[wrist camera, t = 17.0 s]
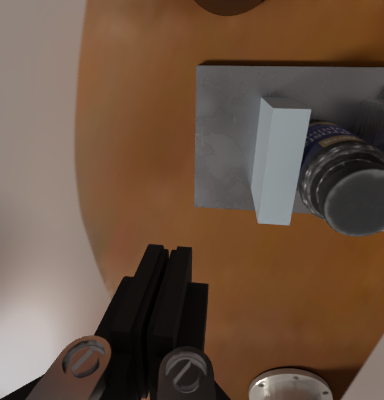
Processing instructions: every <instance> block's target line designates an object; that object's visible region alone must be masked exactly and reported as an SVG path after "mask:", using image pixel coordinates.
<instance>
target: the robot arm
mask: <svg viewBox="0 0 384 400" xmlns="http://www.w3.org/2000/svg"><path fill="white" fill-rule="evenodd" d="M191 280H192V247H180V246H178V247H177V250H172V251H171V254H170V257H169V251H168V249H164V246H163V245H155V244H149V245H148V247H147V249H146V251H145V253H144V256H143V258H142V260H141V262H140V264H139V267H138V269H137V271H136V273H135V275H134V277H128V276H125V277H124V278H123V279H122V281H121V283H120V285H119V287H118V289H117V291H116V293H115V295H114V297H113V299H112V301H111V303H110V304H109V306H108V309H107V311H106V312H105V314H104V316H103V318H102V321H101V323H100V324H99V326H98V329H97V330H96V332H95V334H94V336H93V335H92V336H84V337H82V338H79V339H76V340H75V341H73V342H72V343H70V344H69V345H68V346H67V347H66V348H65V349H64V350H63V351H62V352H61V353H60V355H59V356H58V357H57V358H56V360H55V361H54V362H53V364H52V365H51V366H50V368H49V369H48V370H47V372H46V373H45V374H44V375H42V376H41V377H39V378H37V379H35V380H33V381H32V382H30V383H28V384H26V385H25V386H23V387H21V388H19V389H17V390H16V391H14V392H12V393H10V394H9V395H7V396H5V397H3V398H1V399H0V400H141V398H147V396H148V393H150V400H231V399H230V398H229V397H228V396H227V395H226V394H225V392H224V391H223V390H222V389H221V388H220V386H219V385H218V384H217V383H216V382H215V381H214V373H213V367H212V364H211V361H210V360H209V358H208V356H207V355H206V354H205V353H204V343H205V331H206V319H207V304H208V284H204V283H193V282H191ZM249 399H250V400H333V398H332V393H331V390H330V387H329V386H328V384H327V383H326V382H325V381H324V380H323V379H322V378H321V377H319V376H317V375H316V374H313V373H311V372H309V371H305V370H301V369H294V368H283V369H275V370H271V371H268V372H265V373H263V374H261V375H259V376H258V377H257V378H256V379H254V380H253V382H252V383H251V384H250V387H249Z"/></svg>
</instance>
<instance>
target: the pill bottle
mask: <svg viewBox="0 0 384 400" xmlns="http://www.w3.org/2000/svg"><path fill="white" fill-rule="evenodd" d="M296 190H297V192H298V194H299V196H300V197H301V199H302V202H303V204H304V205H305V206H306V207H307V209H308V210H309V211H310V212H311V213H312V214H314V215H315V216H317V217H319V218H321V219H323V220H326V222H327V223H328V224H329V225H330V226H331V227H332V228H333V229H334V230H336V231H337V232H339V233H342V234H344V235H348V236H367V235H372V234H375V233H378V232H380V231H382V230H384V153H383V152H382V151H381V150H380V149H379V148H377V147H376V146H374V145H372V144H370V143H368V142H366V141H365V140H363V139H361V138H360V137H358V136H356V135H354V134H353V133H351V132H349V131H348V130H346V129H344V128H342V127H341V126H339V125H337V124H334V123H331V122H327V121H315V122H310V123H309V125H308V130H307V136H306V141H305V146H304V151H303V157H302V162H301V167H300V172H299V177H298V183H297V188H296Z"/></svg>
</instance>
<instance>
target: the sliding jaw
mask: <svg viewBox="0 0 384 400" xmlns="http://www.w3.org/2000/svg"><path fill="white" fill-rule="evenodd" d="M310 115H311V109H310V108H308V107H306V106H305V105H303V104H301V103H299V102H297V101H295V100H293V99H291V98H280V97H261V104H260V113H259V122H258V131H257V140H256V149H255V158H254V167H253V176H252V185H251V191H252V196H253V201H254V206H255V211H256V216H257V221H258V223H263V224H279V225H290V219H291V214H292V209H293V204H294V198H295V193H296V188H297V183H298V177H299V172H300V167H301V162H302V157H303V151H304V146H305V141H306V136H307V130H308V125H309V120H310Z"/></svg>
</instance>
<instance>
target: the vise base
mask: <svg viewBox="0 0 384 400" xmlns="http://www.w3.org/2000/svg"><path fill="white" fill-rule="evenodd" d="M261 97H280V98H291V99H293V100H295V101H297V102H299V103H301V104H303V105H305V106H306V107H308V108H310V109H311V115H310V120H309V123H310V122H315V121H327V122H331V123H334V124H337V125H339V126H341V127H342V128H344V129H346V130H348V131H349V132H351V133H353V134H354V135H356V136H358V137H360V138H361V139H363V140H365V141H366V142H368V143H370V144H372V145H374V146H376V147H377V148H379V149H380V150H381V151H382V152H383V153H384V67H297V66H200V65H197V66H196V125H195V196H194V207H207V208H224V209H241V210H255V206H254V201H253V196H252V191H251V185H252V176H253V167H254V158H255V149H256V140H257V131H258V122H259V113H260V104H261ZM292 212H293V213H310V214H312V213H311V212H310V211H309V210H308V209H307V207H306V206H305V205H304V204H303V202H302V199H301V197H300V196H299V194H298V192H297V190H296V193H295V198H294V204H293V209H292ZM382 231H384V230H382Z"/></svg>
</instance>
